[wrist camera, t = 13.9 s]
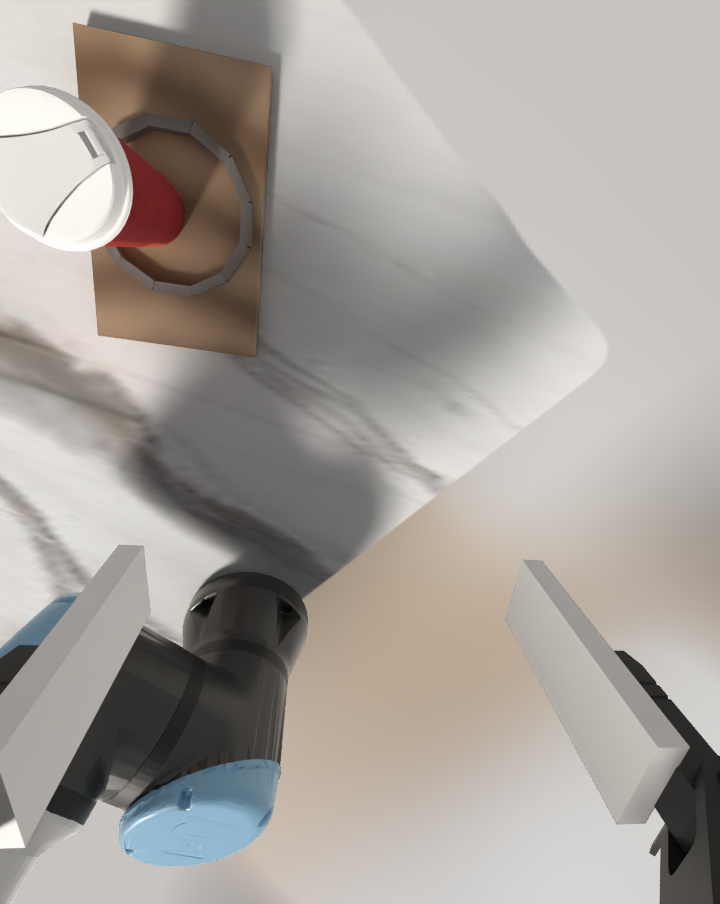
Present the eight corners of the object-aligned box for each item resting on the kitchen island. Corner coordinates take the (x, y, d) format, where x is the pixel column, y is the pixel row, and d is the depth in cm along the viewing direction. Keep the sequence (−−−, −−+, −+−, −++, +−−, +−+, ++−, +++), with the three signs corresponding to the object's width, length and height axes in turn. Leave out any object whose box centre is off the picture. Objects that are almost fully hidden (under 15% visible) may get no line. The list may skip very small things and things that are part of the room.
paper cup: (164, 135, 33) (55, 42, 20) (216, 236, 36) (151, 212, 23) (79, 181, 33) (-78, 120, 21) (137, 276, 36) (31, 275, 23)
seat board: (256, 354, 41) (251, 359, 39) (106, 333, 39) (91, 336, 37) (272, 75, 33) (267, 58, 30) (84, 33, 31) (62, 12, 29)
